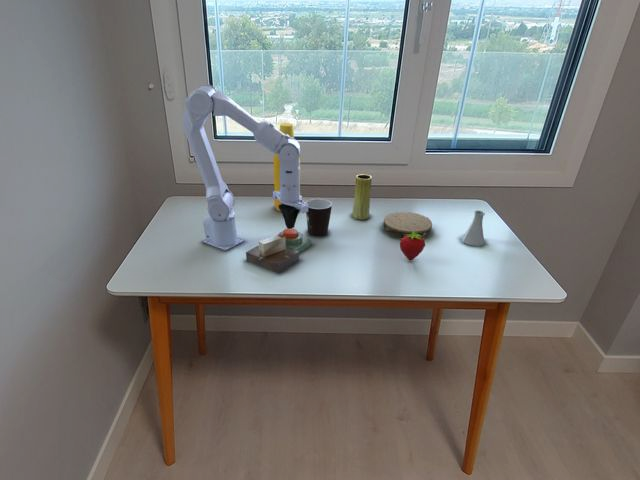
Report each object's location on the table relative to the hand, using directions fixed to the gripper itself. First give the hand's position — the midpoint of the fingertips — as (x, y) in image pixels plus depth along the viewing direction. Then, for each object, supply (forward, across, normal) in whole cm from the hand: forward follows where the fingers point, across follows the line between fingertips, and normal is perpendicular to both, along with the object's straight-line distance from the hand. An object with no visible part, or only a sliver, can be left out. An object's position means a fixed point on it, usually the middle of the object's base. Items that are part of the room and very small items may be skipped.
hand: (290, 227), depth 136 cm
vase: (+6, +3, -33) cm, 34 cm away
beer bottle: (+6, +24, -17) cm, 30 cm away
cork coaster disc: (+6, -15, -38) cm, 41 cm away
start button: (+3, 0, 0) cm, 3 cm away
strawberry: (+6, -29, -22) cm, 37 cm away
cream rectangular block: (+3, -5, +10) cm, 12 cm away
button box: (+6, 0, 0) cm, 6 cm away
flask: (+6, -34, -48) cm, 59 cm away
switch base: (+6, -5, +10) cm, 13 cm away
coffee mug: (+6, +3, -14) cm, 15 cm away
